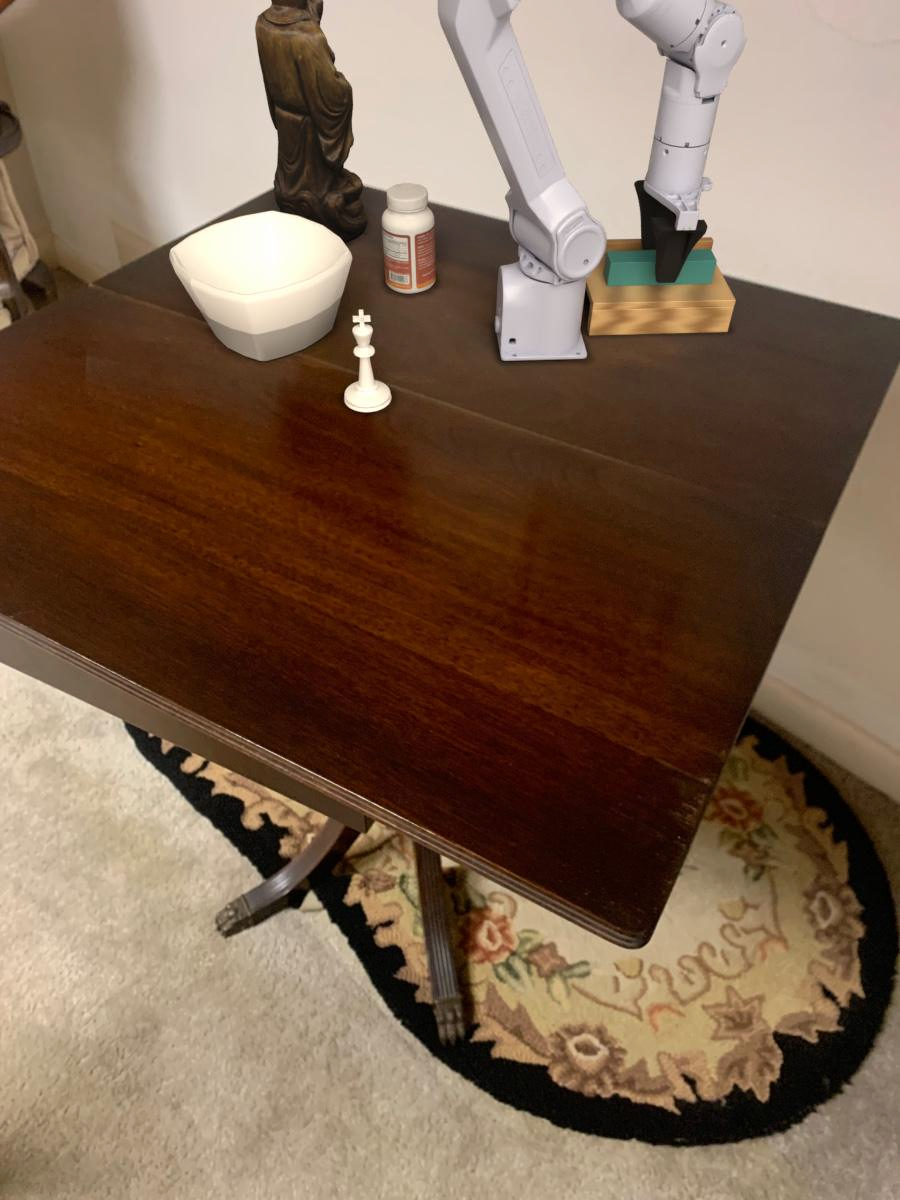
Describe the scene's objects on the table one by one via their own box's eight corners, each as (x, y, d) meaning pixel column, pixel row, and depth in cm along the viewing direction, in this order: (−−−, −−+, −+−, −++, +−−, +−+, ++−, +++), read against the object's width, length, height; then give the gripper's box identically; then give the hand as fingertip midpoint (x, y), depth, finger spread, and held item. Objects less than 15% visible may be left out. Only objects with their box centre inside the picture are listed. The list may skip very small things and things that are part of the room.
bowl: (382, 330, 101) (377, 251, 94) (255, 393, 93) (240, 311, 86) (286, 275, 110) (276, 199, 103) (162, 328, 101) (141, 249, 94)
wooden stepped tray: (588, 335, 101) (595, 290, 96) (573, 283, 109) (578, 239, 104) (727, 332, 101) (739, 287, 97) (701, 280, 109) (711, 236, 105)
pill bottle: (430, 268, 111) (428, 177, 103) (440, 292, 107) (439, 200, 99) (381, 273, 110) (375, 182, 102) (389, 298, 106) (385, 205, 98)
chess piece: (344, 386, 94) (335, 298, 86) (390, 383, 94) (385, 296, 87) (344, 413, 90) (335, 325, 83) (392, 411, 91) (387, 323, 83)
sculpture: (387, 233, 119) (391, -38, 98) (321, 260, 112) (310, -26, 91) (319, 207, 124) (310, -56, 103) (252, 231, 117) (227, -47, 96)
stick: (607, 286, 100) (610, 262, 98) (602, 274, 102) (606, 250, 100) (711, 284, 101) (717, 260, 98) (705, 272, 102) (710, 248, 100)
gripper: (740, 165, 85) (709, 296, 95) (703, 110, 95) (678, 234, 105) (668, 166, 85) (644, 297, 95) (638, 111, 95) (619, 235, 105)
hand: (658, 264), depth 100 cm, fingers open, 7 cm apart
